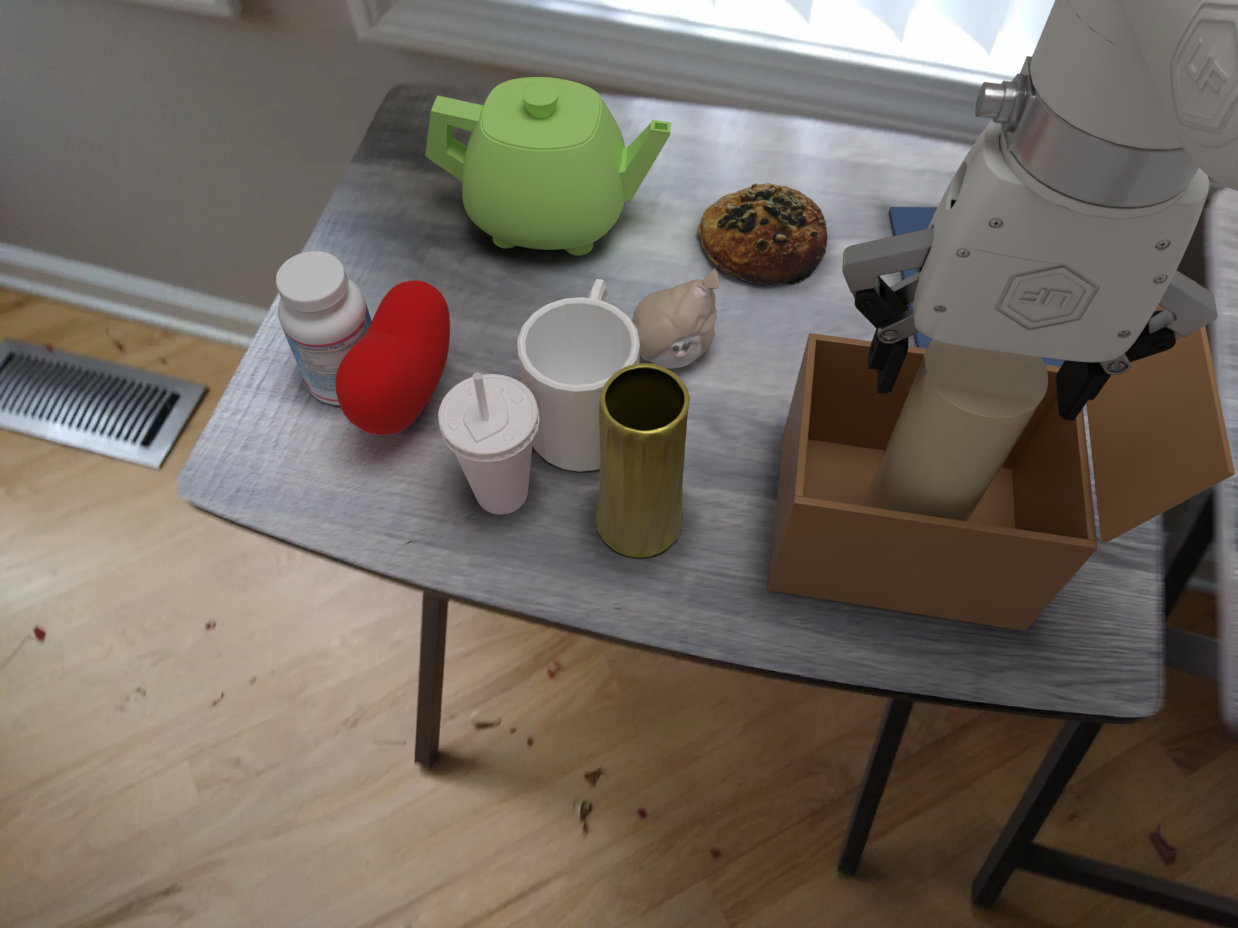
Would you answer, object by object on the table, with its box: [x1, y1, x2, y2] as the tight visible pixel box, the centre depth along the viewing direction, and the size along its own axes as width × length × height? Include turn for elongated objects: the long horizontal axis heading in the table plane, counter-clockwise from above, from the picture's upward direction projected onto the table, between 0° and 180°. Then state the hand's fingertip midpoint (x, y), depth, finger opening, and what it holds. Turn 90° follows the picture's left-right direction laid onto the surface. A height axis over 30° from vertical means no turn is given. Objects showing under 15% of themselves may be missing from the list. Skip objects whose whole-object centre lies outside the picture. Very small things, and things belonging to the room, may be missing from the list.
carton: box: [767, 332, 1099, 632], centre depth 64 cm, size 17×13×12 cm
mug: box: [516, 278, 641, 473], centre depth 70 cm, size 8×12×10 cm
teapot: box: [424, 76, 672, 256], centre depth 80 cm, size 20×13×13 cm
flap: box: [1085, 280, 1236, 543], centre depth 54 cm, size 8×13×1 cm
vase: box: [594, 362, 691, 558], centre depth 63 cm, size 6×6×14 cm
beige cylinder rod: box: [861, 339, 1048, 522], centre depth 60 cm, size 6×6×19 cm
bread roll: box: [697, 182, 828, 286], centre depth 83 cm, size 11×11×5 cm
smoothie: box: [437, 372, 540, 516], centre depth 64 cm, size 6×6×14 cm
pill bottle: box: [275, 250, 372, 406], centre depth 71 cm, size 6×6×11 cm
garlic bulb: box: [631, 268, 720, 369], centre depth 74 cm, size 7×6×8 cm
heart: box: [335, 279, 451, 436], centre depth 70 cm, size 12×5×10 cm, turn 160°
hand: (973, 386), depth 53 cm, fingers open, 9 cm apart
